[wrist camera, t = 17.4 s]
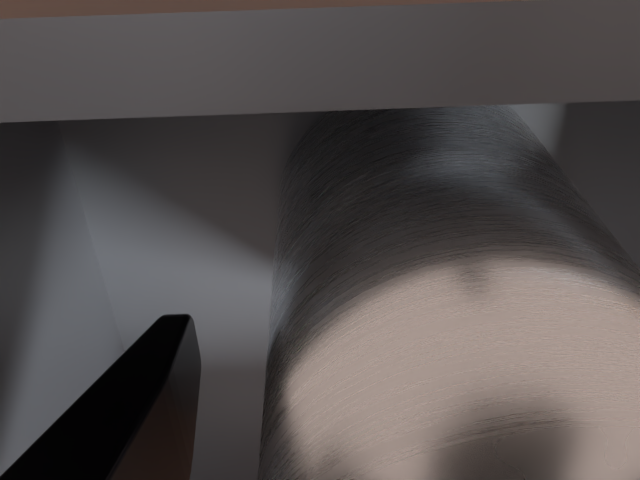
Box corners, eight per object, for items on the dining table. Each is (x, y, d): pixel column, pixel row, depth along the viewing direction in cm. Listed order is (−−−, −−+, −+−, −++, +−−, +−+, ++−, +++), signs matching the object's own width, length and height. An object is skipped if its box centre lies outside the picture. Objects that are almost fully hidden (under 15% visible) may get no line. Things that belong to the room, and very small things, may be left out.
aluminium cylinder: (529, 301, 12) (722, 701, 7) (292, 317, 13) (280, 724, 7) (565, 66, 10) (953, 403, 4) (261, 90, 10) (200, 452, 4)
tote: (592, 533, 19) (691, 768, 14) (168, 549, 19) (121, 789, 14) (850, -97, 9) (1452, -33, 4) (-26, -67, 9) (-394, 32, 4)
